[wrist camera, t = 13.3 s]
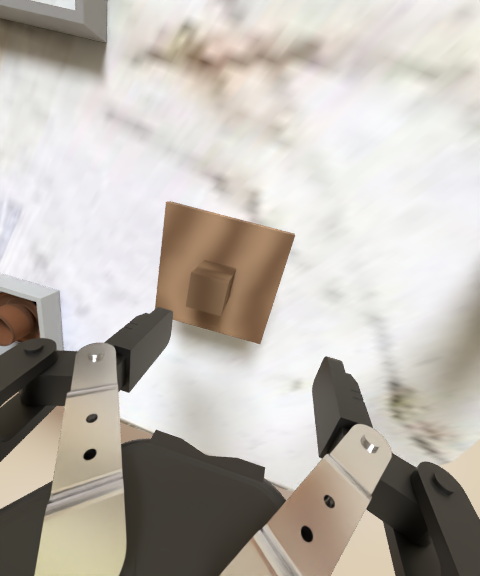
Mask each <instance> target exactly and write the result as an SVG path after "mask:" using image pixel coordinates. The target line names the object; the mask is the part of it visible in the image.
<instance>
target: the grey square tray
mask: <svg viewBox="0 0 480 576" xmlns="http://www.w3.org/2000/svg"><path fill="white" fill-rule="evenodd" d="M0 291H2V292H5V293H8V294H11V295H15V296H18V297H21V298H25V299H28V300H31V301H35V302H36V304H37V313H38V321H39V330H40V338H47V339H51V340H53V341H55V342H56V345H57V350H61V351H63V338H62V324H61V310H60V297H59V290H56V289H52V288H49V287H46V286H42V285H39V284H36V283H32V282H29V281H26V280H22V279H19V278H16V277H12V276H9V275H5V274H2V273H0ZM18 344H19V343H16V342H14V343H12V344H10V345H8V346H0V355H1V354H3V353H4V352H6V351H8V350H9V349H11V348H13V347H14V346H16V345H18Z"/></svg>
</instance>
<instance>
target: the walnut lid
mask: <svg viewBox="0 0 480 576" xmlns="http://www.w3.org/2000/svg"><path fill="white" fill-rule="evenodd" d="M294 237H295V234H293V233H290V232H286V231H282V230H278V229H274V228H270V227H267V226H263V225H259V224H255V223H251V222H247V221H243V220H240V219H236V218H232V217H228V216H224V215H220V214H217V213H213V212H209V211H205V210H201V209H197V208H194V207H190V206H186V205H182V204H178V203H174V202H171V201H170V202H166V208H165V218H164V228H163V237H162V247H161V256H160V266H159V276H158V285H157V295H156V305H155V309H156V308H157V307H161V308H164V309H168V310H171V311H173V320H177V321H180V322H184V323H187V324H191V325H194V326H198V327H201V328H205V329H208V330H212V331H215V332H219V333H223V334H226V335H230V336H233V337H237V338H240V339H244V340H247V341H251V342H254V343H258V344H260V343H261V340H262V337H263V333H264V330H265V327H266V324H267V321H268V318H269V315H270V312H271V309H272V306H273V302H274V299H275V296H276V293H277V290H278V287H279V284H280V281H281V278H282V274H283V271H284V268H285V265H286V262H287V259H288V256H289V253H290V250H291V247H292V243H293V240H294Z"/></svg>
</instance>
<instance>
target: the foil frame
mask: <svg viewBox="0 0 480 576" xmlns="http://www.w3.org/2000/svg"><path fill="white" fill-rule="evenodd" d="M75 9H76V11H75V10H70V9H66V8H62V7H57V6H53V5H48V4H44V3H40V2H35V1H31V0H0V18H2V19H6V20H10V21H14V22H19V23H23V24H27V25H32V26H36V27H40V28H45V29H49V30H53V31H57V32H62V33H66V34H70V35H75V36H79V37H83V38H88V39H92V40H96V41H100V42H105V43H107V0H75Z"/></svg>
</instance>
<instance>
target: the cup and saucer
mask: <svg viewBox="0 0 480 576" xmlns="http://www.w3.org/2000/svg"><path fill="white" fill-rule="evenodd" d="M35 338H40V330H39V321H38V313H37V306H36V305H35V304H34V303H33V302H32V301H30V300H28V299H25V298H21V297H18V296H15V295H11V294H8V293H5V292H3V293H0V346H8V345H10V344H12V343H14V342H16V341H18V342H24V341H27V340H30V339H35Z"/></svg>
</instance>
